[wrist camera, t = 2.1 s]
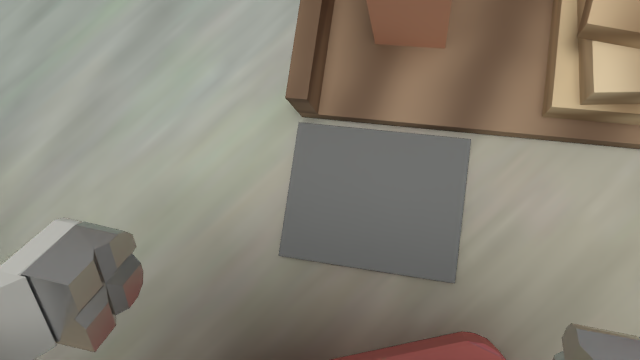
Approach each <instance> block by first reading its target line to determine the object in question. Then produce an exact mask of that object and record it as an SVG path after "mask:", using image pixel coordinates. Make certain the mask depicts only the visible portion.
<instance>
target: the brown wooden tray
mask: <svg viewBox="0 0 640 360" xmlns="http://www.w3.org/2000/svg"><path fill="white" fill-rule="evenodd" d="M552 9H553V0H452V3H451V10H450V17H449V25H448V32H447V39H446V46H445V48H429V47H412V46H396V45H380V44H375V40H374V35H373V31H372V26H371V21H370V16H369V11H368V6H367V1H366V0H300V6H299V12H298V19H297V25H296V32H295V38H294V45H293V51H292V58H291V64H290V71H289V77H288V83H287V90H286V96H285V98H286V99H287V100H288V101H289V102H290V103H291V105H292V106H293V107H294V108H295V109H296V110H297V111H298V113H299V114H300V115H301V116H302V117H309V118H320V119H330V120H341V121H351V122H362V123H372V124H383V125H394V126H404V127H415V128H425V129H436V130H446V131H457V132H467V133H478V134H488V135H499V136H509V137H520V138H530V139H541V140H551V141H562V142H572V143H583V144H593V145H604V146H614V147H625V148H635V149H640V125H629V124H617V123H606V122H594V121H583V120H571V119H559V118H548V117H542V112H543V102H544V91H545V81H546V71H547V61H548V50H549V40H550V30H551V19H552Z"/></svg>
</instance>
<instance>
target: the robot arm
mask: <svg viewBox="0 0 640 360" xmlns="http://www.w3.org/2000/svg"><path fill="white" fill-rule="evenodd" d="M135 248H136V244H135V241H134V238H133V235H132V234H130V233H128V232H126V231H122V230H117V229H113V228H109V227H105V226H100V225H96V224H92V223H88V222H82V221H78V220H73V219H69V218H65V217H63V218H59V219H56V220H54V221H53V222H51V223H50V224H49V225H48V226H47V227H45V228H44V229H43V230H42V231H41V232H40V233H38V234H37V235H36V236H35V237H34V238H33V239H31V240H30V241H29V242H28V243H27V244H25V245H24V246H23V247H22V248H21V249H20V250H18V251H17V252H16V253H15V254H14V255H13V256H11V257H10V258H9V259H8V260H7V261H5V262H4V263H3V264H2V265H1V266H0V360H34V359H36V358H38V357H39V356H41V355H42V354H44V353H46V352H47V351H49V350H50V349H52V348H54V347H55V346H56V345H57V344H56V343H58V344H62V345H67V346H71V347H75V348H79V349H83V350H87V351H91V352H95V351H96V350H97V349H98V348H99V346H100V345H101V344H102V343H103V341H104V340H105V339H106V337H107V336H108V335H109V334H110V332H111V331H112V330H113V329H114V327H115V326H116V315H117V314H119V313H121V312H123V311H125V310H127V309H129V308H130V307H131V305H132V304H133V303H134V301H135V300H136V299H137V297H138V295H139V292H140V290H141V287H142V284H143V269H142V266H141V263H140V262H139V261H138V260H137V258H136V257H135V256H134V255H133V254H132V253H133V251H134V250H135ZM562 343H563V351H562V352H560V353H558V354H556V355H554V357H553V360H640V337H637V336H634V335H629V334H624V333H619V332H613V331H608V330H603V329H598V328H593V327H588V326H583V325H578V324H573V323H571V324H570V325H569V326H568V327H567V328H566V330H565V332H564V334H563V336H562Z"/></svg>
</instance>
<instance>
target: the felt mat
mask: <svg viewBox="0 0 640 360" xmlns="http://www.w3.org/2000/svg"><path fill="white" fill-rule="evenodd" d="M470 144H471V139H464V138H454V137H444V136H434V135H423V134H413V133H403V132H393V131H382V130H372V129H362V128H352V127H341V126H331V125H321V124H311V123H300V122H299V124H298V130H297V137H296V144H295V150H294V157H293V163H292V170H291V177H290V183H289V190H288V197H287V203H286V210H285V216H284V223H283V230H282V236H281V243H280V250H279V256H284V257H290V258H296V259H303V260H309V261H316V262H322V263H328V264H335V265H341V266H348V267H354V268H360V269H367V270H373V271H379V272H386V273H392V274H399V275H405V276H411V277H418V278H424V279H431V280H437V281H443V282H450V283H455V278H456V269H457V260H458V251H459V242H460V233H461V224H462V215H463V206H464V197H465V189H466V180H467V171H468V162H469V153H470Z"/></svg>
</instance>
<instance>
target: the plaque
mask: <svg viewBox="0 0 640 360" xmlns="http://www.w3.org/2000/svg"><path fill="white" fill-rule="evenodd" d="M331 360H506V359H505V358H504V357H503V355H502V354H501V353H500V352H499V350H498V349H497V348H496V347H495V346H494V345H493V344H492V343H491V342H490V341H489V340H488V339H486V338H484V337H482V336H480V335H477V334H475V333H469V332H457V333H453V334H448V335H443V336H439V337H434V338H429V339H425V340H420V341H415V342H410V343H406V344H401V345H396V346H392V347H387V348H382V349H378V350H373V351H368V352H363V353H359V354H354V355H349V356H345V357H340V358H335V359H331Z"/></svg>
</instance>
